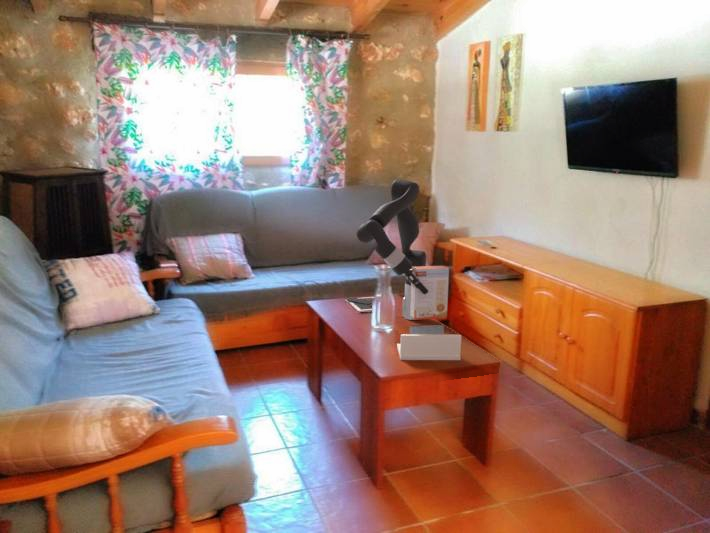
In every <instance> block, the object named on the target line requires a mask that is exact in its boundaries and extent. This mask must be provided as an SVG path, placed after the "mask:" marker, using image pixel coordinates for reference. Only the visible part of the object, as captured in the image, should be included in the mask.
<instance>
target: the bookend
mask: <svg viewBox="0 0 710 533" xmlns="http://www.w3.org/2000/svg"><path fill="white" fill-rule="evenodd" d="M409 334H441V335H445V326H444V325H440V324H438V325H437V324H435V325H432V324H429V325H428V324H427V325H425V324H418V325H416V324H410V325H409Z"/></svg>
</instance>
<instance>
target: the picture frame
mask: <svg viewBox="0 0 710 533" xmlns="http://www.w3.org/2000/svg"><path fill="white" fill-rule="evenodd" d="M372 298H375V297H374V296H368V297H367V296H364V297H355V296H351V297H345V301H347V302H349V303H350V304H351V305H352V306H353V307H354V308H355V309H356V310H357V311H359V312H364V311H371V310H372V301H373V300H372ZM366 299H371V300H366ZM357 311H356V312H357Z"/></svg>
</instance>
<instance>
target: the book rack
mask: <svg viewBox="0 0 710 533" xmlns="http://www.w3.org/2000/svg"><path fill="white" fill-rule="evenodd" d="M396 348H397V352H398V356H399V360H400V361H461V351H462V350H461V348H462V335H461V334H444V335H441V334H410V333H408V334H407V333H405V334H404V333H403V334H400V343H396Z"/></svg>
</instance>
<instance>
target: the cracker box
mask: <svg viewBox="0 0 710 533" xmlns="http://www.w3.org/2000/svg"><path fill="white" fill-rule="evenodd" d="M412 270H413V271H414V273H415V277H416V278H419V281H420V282H421V283H422V284H423V286H424V287H425V288H426V289H427V290H428V292H427V293H426V294H423V293H422V292H421V291H420V290H419V289H417V288H416V287H415V286H414V285H413V284H412V283H411V310H410V311H411V312H410V316H411V317H412V318H413V319H414V320H413V321H418V320H419V319H420V320H436V319H438V320H439V319H447V318H448V317H447V316H448V301H449V300H448V298H449V277H450V276H449V274H450V268H449V267H447V266H445V265H428V266H427V265H426V266H418V267H412ZM415 284H416V285H417V284H419V283H418V282H416V283H415Z"/></svg>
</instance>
